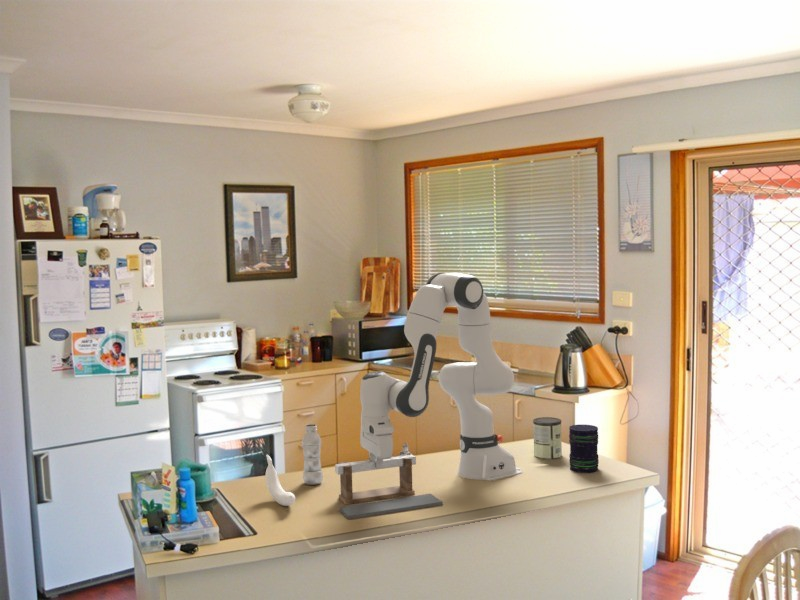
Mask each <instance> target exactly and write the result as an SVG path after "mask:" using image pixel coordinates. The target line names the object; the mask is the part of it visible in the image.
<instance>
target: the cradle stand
mask: <svg viewBox="0 0 800 600" xmlns="http://www.w3.org/2000/svg"><path fill="white" fill-rule="evenodd" d="M398 456H405V454H403V455H400V454H398ZM341 463H348V462H347V461H341V462H339V464H341ZM398 468H399V471H398V472H399V485H396V486H389V487H383V488H382V487H381V488H375V489H368V490H362V491H354V492H353V473H352V466H351V465H349V466H345V474H339V475H340V477H339V478H340V479H339V480H340V493H339V494H338V499H339V501H341V502H342V503H343V504H345V505H353V504H360V503H364V502H365V503H367V502H374V501H380V500H384V499H385V498H387V499H393V498H401V497H405V496H406V497H408V496H414V495H415V493H416V492H415V489H413V465H412V458H405V466H400V467H398ZM392 497H393V498H392ZM379 499H380V500H379ZM385 500H386V499H385Z"/></svg>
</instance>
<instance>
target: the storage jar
mask: <svg viewBox="0 0 800 600" xmlns="http://www.w3.org/2000/svg"><path fill="white" fill-rule="evenodd" d="M568 429H569V434H568V439H569V441H568V442H569V449H570V450H569V455H568V456H569V459H568V460H569V470H570V471H571V472H574V473H580V474H592V473H596V472H598V471H599V454H598V444H599V427H598V426H596V425H592V424H573V425H570V426H569V428H568Z"/></svg>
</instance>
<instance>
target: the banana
mask: <svg viewBox="0 0 800 600" xmlns="http://www.w3.org/2000/svg"><path fill="white" fill-rule="evenodd" d="M265 458H266V462H267V464H268V465H267V468H266V471H265V482H266V483H265V484H266V486H267V490H268V492H269V493H270V496H271V497H272V499H273V500H274V501H275V502H276V503H277V504H279V505H281V506H284V507H288V506H291V505H293V504H294V503H295V501H296V495H295V494H294V493H293V492H291V491H286V490H285V489H284V488H283V486H282V485H281V482H280V479H279V476H278V472H277V470H276V467H274V465H273V460H272V458H271V456H270V455H269V454H266V455H265Z"/></svg>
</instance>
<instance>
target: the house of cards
mask: <svg viewBox="0 0 800 600" xmlns="http://www.w3.org/2000/svg"><path fill="white" fill-rule="evenodd" d="M403 454H405V455H413V454H412V453H411V451H409V444H408V443H407V442H403V445H402V450H401V451H400V452H399V455H403Z"/></svg>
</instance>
